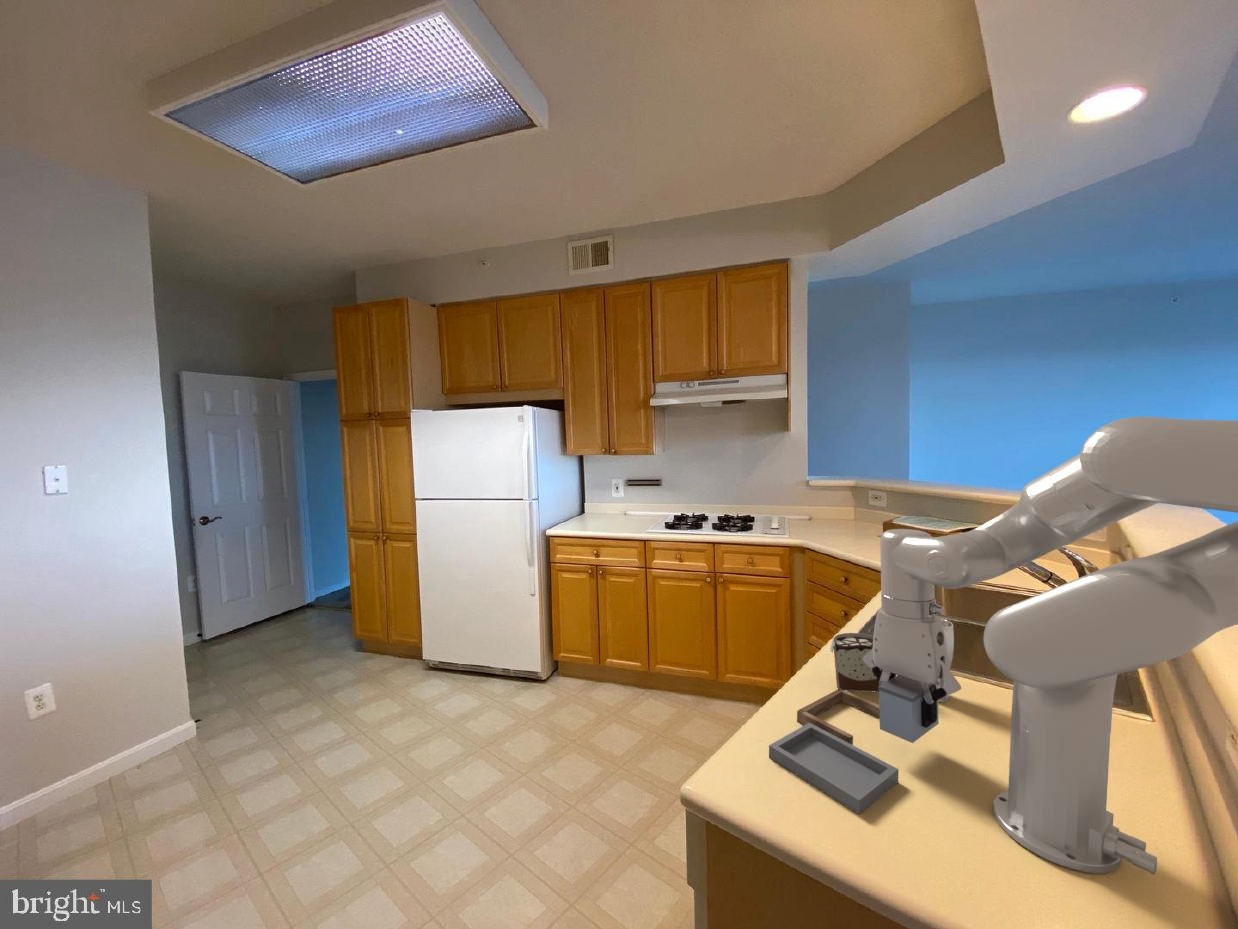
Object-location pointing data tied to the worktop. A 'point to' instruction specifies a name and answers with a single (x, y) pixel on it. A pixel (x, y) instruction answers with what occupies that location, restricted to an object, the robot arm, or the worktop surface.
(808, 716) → the frame
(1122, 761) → the worktop surface
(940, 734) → the worktop surface
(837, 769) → the tray
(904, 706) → the caddy
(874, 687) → the food container
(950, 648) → the beer glass
